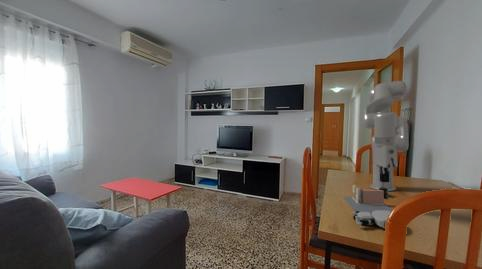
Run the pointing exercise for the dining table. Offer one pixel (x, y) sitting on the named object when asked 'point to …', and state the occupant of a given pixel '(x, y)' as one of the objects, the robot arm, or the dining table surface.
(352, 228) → the dining table surface
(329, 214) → the dining table surface
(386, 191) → the black block
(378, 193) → the folding fence panel
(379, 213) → the robot toy
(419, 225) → the dining table surface
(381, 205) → the board
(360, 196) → the fixed fence panel
